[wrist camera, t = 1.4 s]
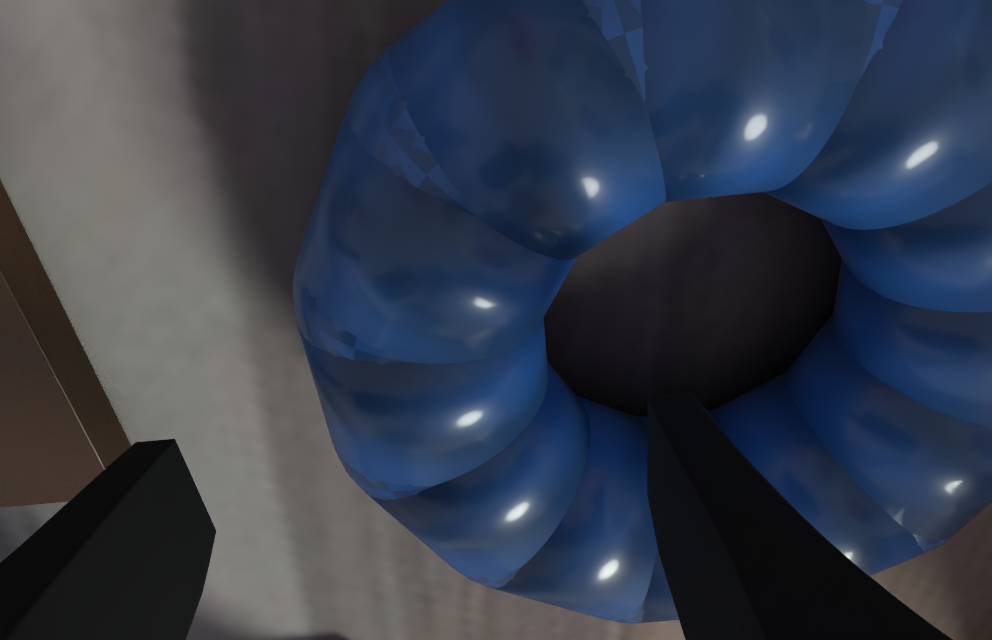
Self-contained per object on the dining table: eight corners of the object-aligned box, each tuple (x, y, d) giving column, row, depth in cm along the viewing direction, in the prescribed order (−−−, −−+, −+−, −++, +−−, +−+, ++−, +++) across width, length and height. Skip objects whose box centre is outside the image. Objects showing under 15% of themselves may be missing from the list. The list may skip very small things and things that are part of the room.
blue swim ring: (943, 483, 19) (1051, 634, 16) (393, 530, 20) (374, 687, 16) (1143, -181, 12) (1451, -190, 8) (238, -71, 12) (133, -32, 9)
